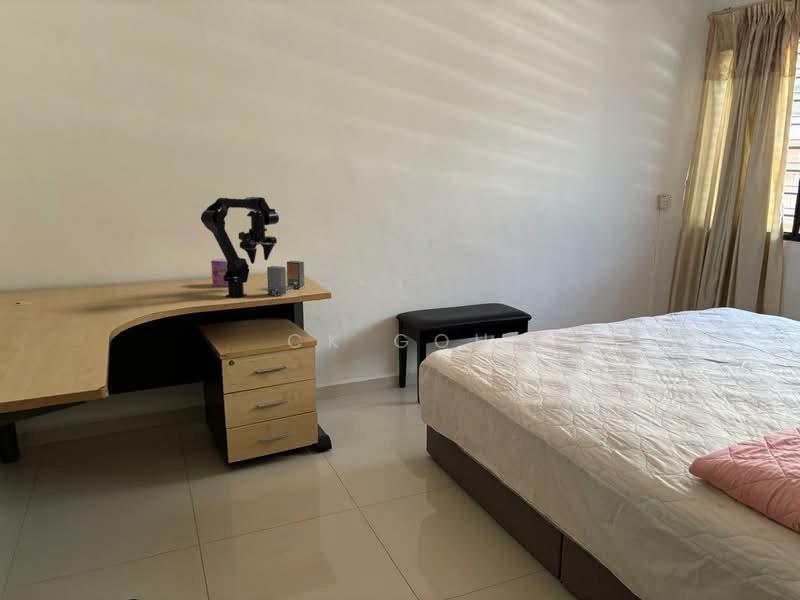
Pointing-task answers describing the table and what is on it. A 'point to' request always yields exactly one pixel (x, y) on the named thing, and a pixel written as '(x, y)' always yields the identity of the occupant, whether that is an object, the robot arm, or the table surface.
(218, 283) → the box
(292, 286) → the rail
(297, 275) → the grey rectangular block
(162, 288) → the table surface
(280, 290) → the tall grey block
